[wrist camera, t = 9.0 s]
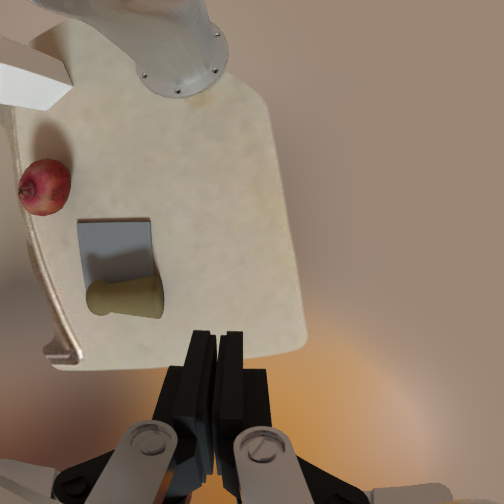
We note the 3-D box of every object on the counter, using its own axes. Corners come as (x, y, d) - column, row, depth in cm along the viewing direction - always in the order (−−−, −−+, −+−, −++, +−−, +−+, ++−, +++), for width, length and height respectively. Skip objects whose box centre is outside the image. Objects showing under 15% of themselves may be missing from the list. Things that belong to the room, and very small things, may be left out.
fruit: (43, 157, 36) (2, 159, 26) (84, 158, 37) (44, 160, 27) (40, 207, 38) (1, 220, 29) (79, 213, 39) (41, 228, 29)
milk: (74, 87, 33) (-28, 55, 12) (46, 111, 34) (-59, 99, 13) (62, 60, 32) (-32, 22, 11) (36, 85, 32) (-62, 64, 11)
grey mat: (78, 222, 39) (76, 223, 39) (150, 221, 40) (149, 222, 39) (90, 307, 43) (89, 308, 43) (158, 312, 44) (157, 314, 43)
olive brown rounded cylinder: (158, 267, 41) (92, 270, 41) (148, 290, 36) (76, 291, 35) (166, 302, 44) (103, 303, 43) (158, 327, 38) (89, 326, 38)
